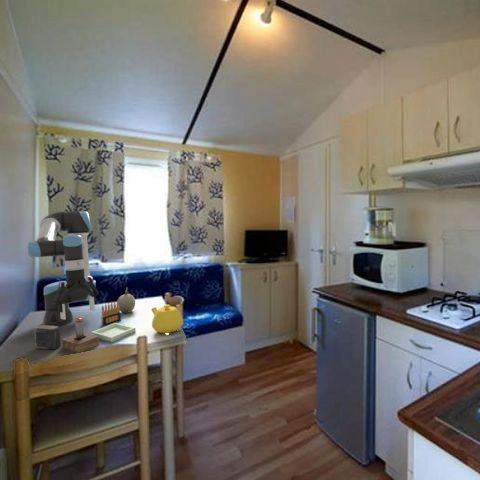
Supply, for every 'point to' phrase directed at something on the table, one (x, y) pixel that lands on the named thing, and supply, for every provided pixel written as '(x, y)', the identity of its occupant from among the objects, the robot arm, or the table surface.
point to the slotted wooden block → (80, 342)
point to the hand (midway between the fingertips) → (78, 314)
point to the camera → (47, 337)
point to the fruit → (126, 302)
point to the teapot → (166, 319)
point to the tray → (113, 332)
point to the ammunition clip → (110, 314)
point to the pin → (79, 328)
